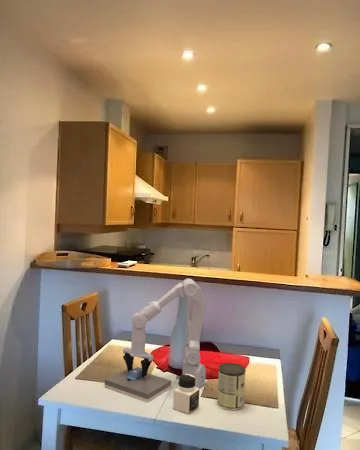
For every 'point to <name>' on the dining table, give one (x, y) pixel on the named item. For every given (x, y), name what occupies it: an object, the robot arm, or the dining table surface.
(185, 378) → the medicine bottle
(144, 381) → the grey flat block
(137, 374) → the servo
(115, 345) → the dining table surface
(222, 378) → the coffee can
